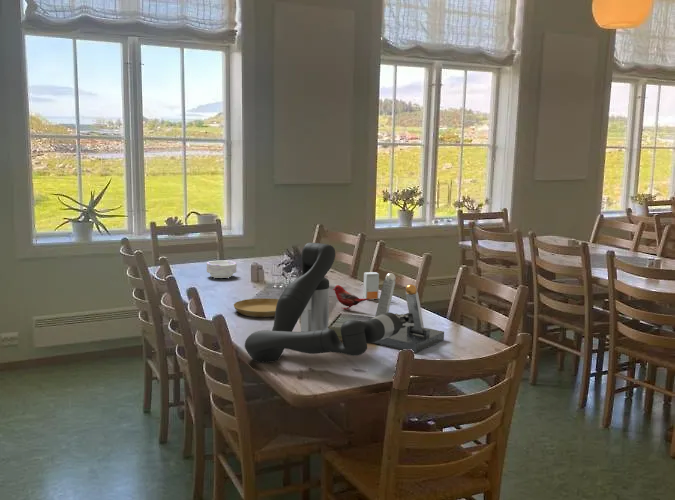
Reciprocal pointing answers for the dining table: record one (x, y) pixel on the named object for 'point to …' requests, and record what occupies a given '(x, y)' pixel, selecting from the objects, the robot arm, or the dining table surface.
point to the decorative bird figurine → (346, 297)
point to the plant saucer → (257, 307)
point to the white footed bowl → (221, 268)
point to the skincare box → (370, 285)
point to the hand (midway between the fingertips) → (410, 316)
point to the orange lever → (414, 309)
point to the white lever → (386, 294)
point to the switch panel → (412, 339)
